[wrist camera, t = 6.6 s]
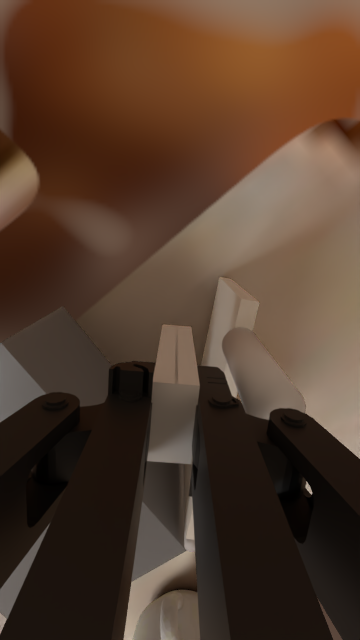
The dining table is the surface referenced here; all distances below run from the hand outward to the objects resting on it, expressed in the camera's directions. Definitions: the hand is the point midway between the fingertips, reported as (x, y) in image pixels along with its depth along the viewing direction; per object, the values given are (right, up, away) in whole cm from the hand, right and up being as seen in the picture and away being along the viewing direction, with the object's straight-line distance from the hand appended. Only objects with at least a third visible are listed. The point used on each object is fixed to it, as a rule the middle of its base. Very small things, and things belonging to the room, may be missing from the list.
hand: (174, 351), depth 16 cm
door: (+2, -3, +13) cm, 13 cm away
